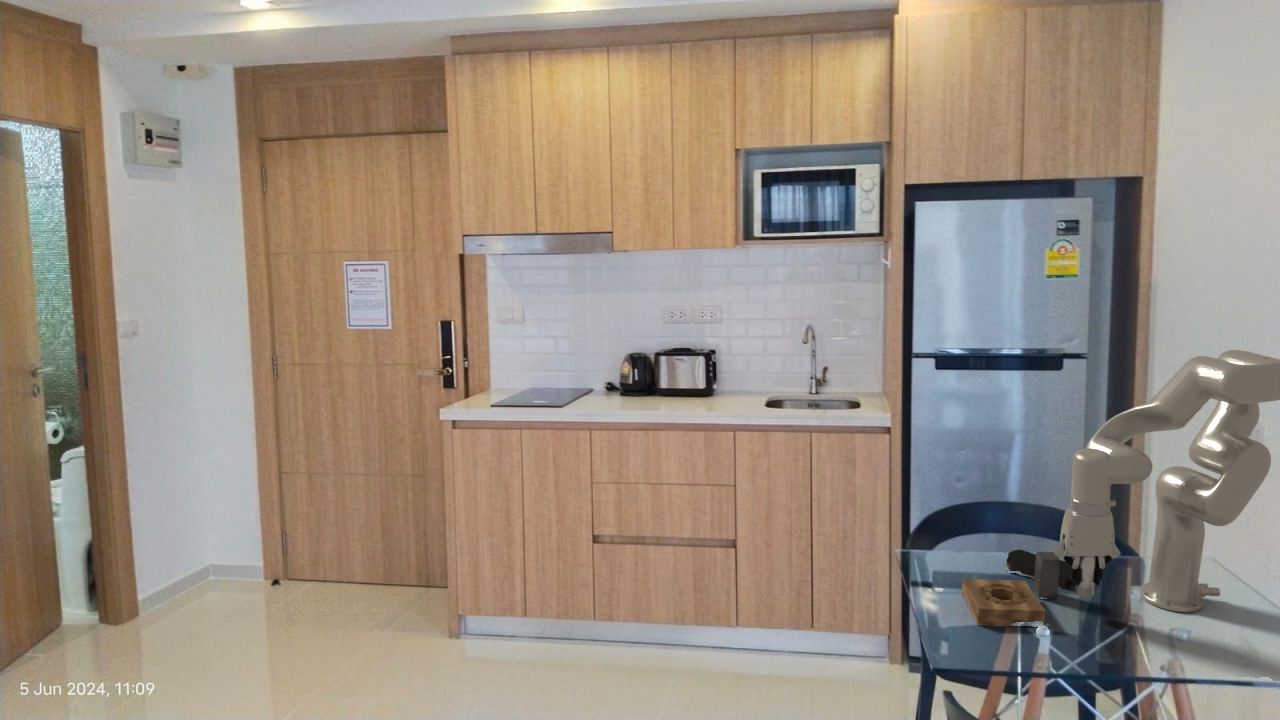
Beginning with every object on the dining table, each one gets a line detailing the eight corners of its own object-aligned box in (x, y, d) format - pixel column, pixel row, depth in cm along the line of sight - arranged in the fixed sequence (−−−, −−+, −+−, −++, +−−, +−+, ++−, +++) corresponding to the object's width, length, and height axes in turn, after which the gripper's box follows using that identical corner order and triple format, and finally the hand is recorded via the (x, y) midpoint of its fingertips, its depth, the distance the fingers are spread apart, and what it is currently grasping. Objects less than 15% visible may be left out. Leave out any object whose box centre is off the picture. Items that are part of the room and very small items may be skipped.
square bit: (1050, 591, 211) (1054, 552, 208) (1056, 599, 207) (1060, 559, 205) (1032, 590, 211) (1036, 551, 209) (1038, 599, 207) (1042, 559, 205)
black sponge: (1081, 579, 217) (1083, 565, 216) (1071, 592, 211) (1072, 578, 210) (1012, 560, 227) (1013, 547, 227) (1000, 572, 221) (1002, 559, 220)
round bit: (1090, 589, 201) (1092, 548, 198) (1096, 597, 197) (1098, 555, 195) (1073, 589, 201) (1075, 548, 199) (1079, 597, 198) (1081, 556, 195)
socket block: (1023, 596, 209) (1024, 580, 208) (1043, 627, 195) (1045, 611, 194) (961, 594, 210) (962, 578, 209) (977, 625, 196) (978, 608, 196)
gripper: (1122, 497, 197) (1117, 573, 201) (1043, 499, 199) (1040, 574, 203) (1137, 511, 189) (1132, 590, 194) (1055, 513, 191) (1052, 591, 196)
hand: (1085, 581), depth 198 cm, fingers closed on round bit, 3 cm apart
